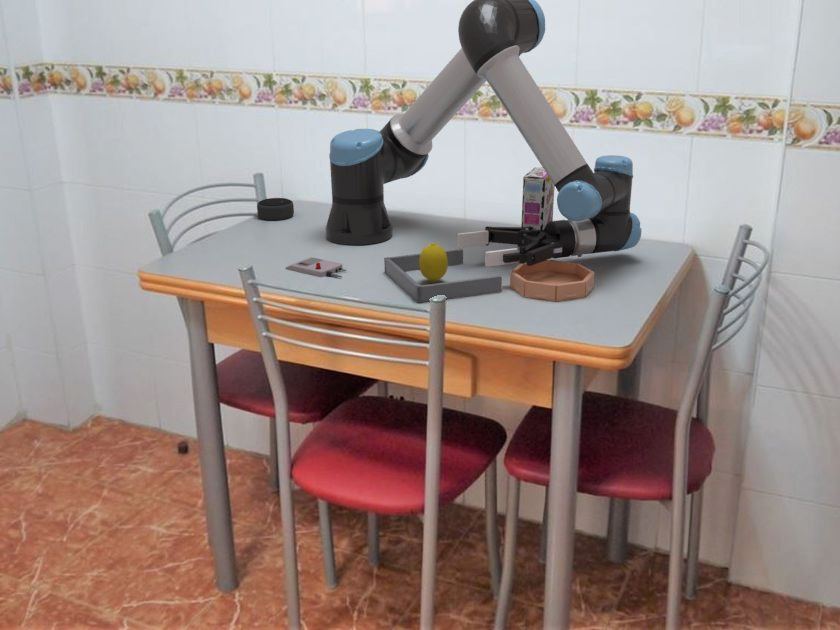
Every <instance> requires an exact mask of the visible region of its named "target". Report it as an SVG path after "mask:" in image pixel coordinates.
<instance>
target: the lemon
mask: <svg viewBox="0 0 840 630" xmlns="http://www.w3.org/2000/svg"><path fill="white" fill-rule="evenodd" d="M445 251H446V250H445V249H444V248H443V247H442V246H441V245H438V244H437V243H435V242H431V243H430V244H429V245H427V246H425V247H424V248H423V249H422V250H421V253H419V254H420V259H419V267H420V269H419V271H420V273H421V275H422V276H423V277H424V278H425V279H427V280H429V281H430V282H431V284H436V282H437V281H438V280H441V279H442V278H443V277H444V276H445V275H446V273H447V271H448V267H449V266H448V260H447V255H446V252H445Z"/></svg>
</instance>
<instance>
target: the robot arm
mask: <svg viewBox="0 0 840 630" xmlns="http://www.w3.org/2000/svg"><path fill="white" fill-rule="evenodd" d="M457 29H458V31H457V32H458V40H459V44H460V46H461V48H460V49H459V50H458V52H456V53H455V55H454V56H453V57H452V58H451V60H450V61H449V62H448V63H447V64H446V65H445V66H444V67H443V69H442V70H440V72H439V73H438V74H437V76H436V77H434V79H433V80H432V81H431V82H430V84H428V86H427V87H426V89H424V91H422V93H421V94H420V95H419V96H418V97H417V98H416V100H414V102H413V103H412V104H411V105H410V106H409V108H408V109H407V110H406V111H405V112H404V113H397V114H394V115H393V116H392V117H391V118H390V119H389V120H388V122H387V123H386V124H385V125H384V126H383V128H381V130H376V129H374V128H356V129H354V130H352V129H350V130H346V131H342V132H339V133H338V134H336V135H334V136H333V138H331V140H330V143H329V154H328V155H329V156H328V157H329V162H330V163H329V164H330V165H329V166H330V167H329V168H330V182H331V200H332V201H331V208H330V211H329V214H328V218H327V221H326V225H325V238H326V239H327V240H328V241H329V242H332V243H335V244H341V245H350V246H354V245H355V246H361V245H363V246H365V245H372V244H373V245H374V244H377V243H382V242H385V241H387V240H390V239H391V238H392V237H393V225H392V221H391V218H390V216H389V214H388V209H387V207H386V204H385V199H384V198H385V195H384V192H385V191H384V187H385V186H384V185H385V184H389V183H391V182H395V181H397V180H401V179H407V178H409V177H412V176H414V175H415V174H417V173H419V171H421V170H422V169H423V168H424V167H425V165H426V164H427V162H428V159H429V157H430V156H429V154H430V152H431V151H432V149H433V140H434V138H435V137H436V136H437V135H438V134H439V133H440V132H441V131H442V130H443V129H444V127H446V126H447V124H449V122H450V121H451V120H452V119H453V118H454V117H455V116H456V115H457V113H458V112H459V111H460V110H461V109H462V108H463V107H464V106H465V105H466V104H467V103H468V102H469V100H470V99H471V98H472V97H473V96H474V95H475V94H476V93H477V92H478V91H479V90H480V89H481V88H482V86H483V85H484V84H485V83H488V84H489V86H490V88H491V89H492V91H493V92H494V94H495V96H496V97H497V99H498V100H499V102H500V104H501V105H502V106H503V109H504V110H505V111H506V113H507V114H508V116H509V117H510V119H511V120H512V122H513V123H514V126H515V127H516V128H517V130H518V131H519V133H520V134H521V136H522V138H523V139H524V140H525V142H526V144H527V145H528V146H529V148H530V150H531V151H532V153H533V154H534V156H535V157H536V159H537V160H538V162H539V163H540V165H541V167H543V168H544V170H545V171H546V173H547V175H548V176H549V178H550V179H551V181H552V182H553V184H554V185H555V188H556V191H557V192H558V193H557V196H556V204H557V205H556V206H557V209H558V211H559V213H560V214H561V215H562V216H563V217H564V218H565V219H559V220H553V221H550V222H548V223H547V224H546V226H545V228H544V230H543V231H542V232H541V231H540V230H535V229H533V227H531V226H529V227H521V226H518V227H517V226H489V225H488V226H485V230H477V231H468V232H462V233H456V234H457V244H456V245H457V246H456V247H457V248H466V247H474V246H482V245H485V246H489V245H490V243H491V244H492V243H496V244H504V245H505V244H506V245H514V246H515V245H516V246H517V247H518V248H516V247H515V248H505V249H497V250H488V251H485V253H484V254H485V255H484V266H485V267H488V268H489V267H495V266H503V265H511V264H518V263H519V264H520V263H522V264H523V263H527V265H528V266H532V265H535V264H537V263H540V262H542V261H545V260H551V259H560V258H569V257H571V256H572V257H574V256H577V258H582V257H583V255H591V254H597V253H598V254H599V253H607V252H608V253H610V252H619V251H624V250H628V249H633V248H634V247H636V246H637V245H638V243H640V240H641V238H642V228H641V221H640V219H639V217H638V215H636V214H635V213H634V212H631V211H630V210H631V201H632V199H631V198H632V186H633V178H634V174H633V170H634V169H633V167H634V166H633V165H634V164H633V160H632V159H631V158H630V157H627V156H624V155H623V156H622V155H615V154H614V155H601V156H599V157H597V158H596V160H595V163H594V168H593V170H592V169H591V167H590V166H589V164H588V163H587V161H586V159H585V158H584V156H583V154H582V153H581V152H580V150H579V148H578V147H577V146H576V144H575V142H574V140H573V139H572V138H571V136H570V134H569V133H568V131H567V129H566V128H565V127H564V125H563V123H562V122H561V121H560V118H558V116H557V114H556V113H555V111H554V109H553V107H552V106H551V105H550V103H549V101H548V100H547V98H546V97H545V96H544V93H543V91H541V89H540V88H539V86H538V85H537V83H536V81H535V80H534V78H533V77H532V75H531V74H530V72H529V70H528V69H527V67H526V66H525V64H524V63H523V61H522V59H521V57H520V56H521V55H522V54H526V53H530V52H531V51H532V50H534V49H536V48H537V47H538V46H539V45H540V44H541V42H542V40H543V38H544V36H545V33H546V17H545V14H544V10H543V9H542V7H541V5H540V4H539V2H537V1H536V0H472V1H471V2H470V3H469V4H468V5H467V6H466V7H465V9H464V10H462V13H461V15H460V18H459V21H458V28H457ZM593 171H594V172H593Z"/></svg>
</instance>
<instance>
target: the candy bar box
mask: <svg viewBox="0 0 840 630" xmlns="http://www.w3.org/2000/svg"><path fill="white" fill-rule="evenodd" d="M522 179H523V180H522V182H523V183H522V184H523V185H522V204H521V226H520V227H529V226H531V227H533V229H535V230H540V231H541V232H542V231H543V230H544V228H545V226H546V224H547V223H548V222H550V221H554V220H553V219H554V218H553V217H554V202H555V201H554V199H555V188H556V187H555V185H554V184H553V182H552V181H551V179H550V178H549V176H548V175H547V173H546V171H545V170H544V168H543V167H542V166H540V167H539V166H538V167H536V166H534V167H533V169H531V170H529V172H527V173H526V174H525V175H523V178H522Z"/></svg>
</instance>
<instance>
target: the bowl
mask: <svg viewBox="0 0 840 630" xmlns="http://www.w3.org/2000/svg"><path fill="white" fill-rule="evenodd" d="M509 273H510V274H509V275H510V276H509V277H510V279H509V280H510V281H509V287H510V288H511V289H512V290H513V291H514V292H516V293H517V294H519V295H520V296H522V297H524V298H529V299H534V300H542V301H551V302H560V301H561V302H562V301H569V300H576V299H582V298H583V299H584V298H586V297H587V296H588V295H589V294H590V293H591V292H592V290H593V289H594V287H595V271H593V270H592V269H590V268H588V267H586V266H585V265H582V264H581V263H578V262H572V261H563V260H555V259H548V260H545V261H542V262H540V263H537V264H535V265H532V266H528V265H527V263H523V264H522V263H519V264H518V265H517V266H515V267H514V268H513V269H512V270H511V271H510V272H509Z"/></svg>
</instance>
